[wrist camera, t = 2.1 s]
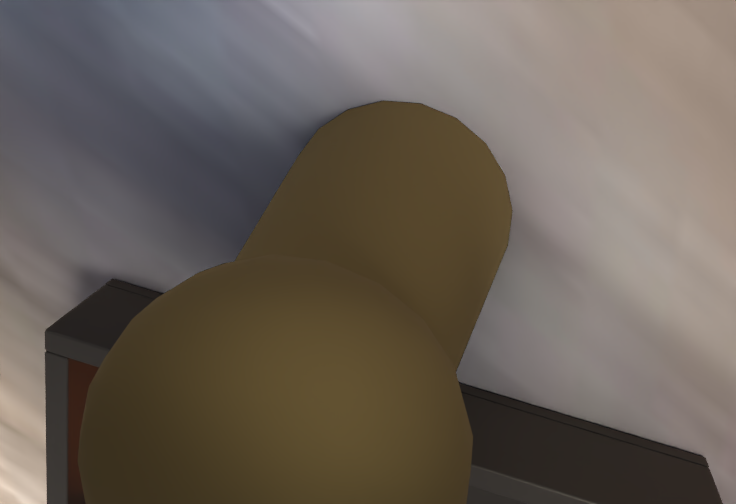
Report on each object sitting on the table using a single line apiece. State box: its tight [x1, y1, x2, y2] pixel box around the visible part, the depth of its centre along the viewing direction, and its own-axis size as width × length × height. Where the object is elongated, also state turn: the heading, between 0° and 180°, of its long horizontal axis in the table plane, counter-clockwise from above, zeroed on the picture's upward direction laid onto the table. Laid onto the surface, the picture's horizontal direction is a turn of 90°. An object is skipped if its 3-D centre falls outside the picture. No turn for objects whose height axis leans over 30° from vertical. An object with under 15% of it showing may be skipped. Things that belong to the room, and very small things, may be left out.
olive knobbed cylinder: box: [78, 101, 512, 504], centre depth 12 cm, size 6×6×11 cm
